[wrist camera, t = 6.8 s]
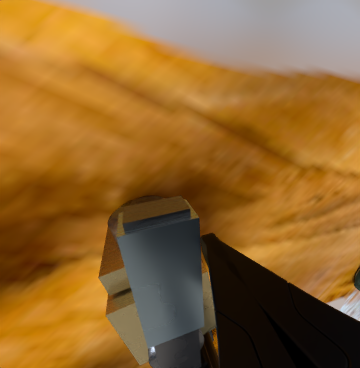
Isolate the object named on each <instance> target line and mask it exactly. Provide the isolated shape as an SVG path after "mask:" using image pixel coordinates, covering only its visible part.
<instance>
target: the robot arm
mask: <svg viewBox="0 0 360 368" xmlns="http://www.w3.org/2000/svg"><path fill="white" fill-rule="evenodd" d="M200 240H201V246H202V252H203V255H204V258H205V260H206V263H207V265H208V267H209V275H210V282H211V290H212V298H213V305H214V314H215V322H216V330H217V340H218V355H219V357H218V355H217V352H216V349H215V347H214V344H213V341H214V339H213V335H212V331H209V332H207V333H205V334H203V337H204V344H203V347H202V348H201V350H200V356H201V367H200V368H360V321H358V320H356V319H354V318H352V317H350V316H348V315H346V314H344V313H342V312H341V311H339V310H337V309H335V308H333V307H331V306H329V305H328V304H326V303H324V302H322V301H320V300H318V299H317V298H315V297H313V296H312V295H310V294H308V293H306V292H305V291H303V290H301V289H300V288H298V287H296V286H295V285H293V284H291V283H288V282H287V281H286V280H285V279H283V278H281V277H280V276H278V275H276V274H275V273H273V272H271V271H270V270H268V269H266V268H265V267H263V266H261V265H260V264H258V263H256V262H255V261H253V260H252V259H250V258H248V257H247V256H245V255H243V254H242V253H240V252H238V251H237V250H235V249H233V248H232V247H230V246H228V245H227V244H225V243H223V242H222V241H220V240H219V239H218V238H217V237H216V236H215V234H214V233H209V234H206V235H203V236H201V237H200Z"/></svg>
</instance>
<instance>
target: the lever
mask: <svg viewBox="0 0 360 368" xmlns="http://www.w3.org/2000/svg"><path fill="white" fill-rule="evenodd" d="M116 238H117V241H118V245H119V248H120V252H121V255H122V259H123V262H124V266H125V269H126V273H127V276H128V280H129V283H130V287H131V290H132V294H133V297H134V301H135V305H136V308H137V312H138V315H139V319H140V322H141V326H142V329H143V333H144V336H145V340H146V343H147V347H148V357H149V363H150V365H151V366H152V367H153V368H200V367H201V356H200V350H201V348H202V347H203V344H204V337H203V334H202V331H201V328H202V327H204V309H203V288H202V266H201V245H200V224H199V217H198V215H197V214H196V212H195V211H194V210H193V208H192V207H191V205H190V204H189V203H188V201H187V200H186V199H183V197H182V196H181V195H180V196H175V197H170V198H165V199H160V200H155V201H150V202H145V203H140V204H136V205H131V206H126V207H123V212H122V213H119V217H118V227H117V237H116Z"/></svg>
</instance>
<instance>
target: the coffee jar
mask: <svg viewBox="0 0 360 368" xmlns="http://www.w3.org/2000/svg"><path fill="white" fill-rule="evenodd" d="M354 286H355V287H356V288H357V289H358V290H359V291H360V269H359V270H358V271H357V273H356V275H355V282H354Z"/></svg>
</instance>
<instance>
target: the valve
mask: <svg viewBox="0 0 360 368" xmlns="http://www.w3.org/2000/svg"><path fill="white" fill-rule="evenodd" d="M160 199H165V198H163V197H160V196H146V197H141V198H138V199H135V200H132V201H130V202H128V203H126V204H124V205H122V206H121V207H120V208H118V209H117V210H116V211H115V212H114V213H113V214H112V215H111V216H110V218H109V220H108V230H107V235H106V240H105V246H104V251H103V256H102V261H101V267H100V272H99V277H98V278H99V279H100V281H101V282H102V284H103V286H104V287H105V289H106V291H107V292H108V300H107V308H106V317H107V318H108V320H109V321H110V322H111V324H112V325H113V327H114V328H115V330H116V331H117V333H118V334H119V336H120V337H121V338H122V340H123V341H124V343H125V344H126V346H127V347H128V349H129V350H130V352H131V353H132V354H133V356H134V357H135V359H136V360H137V362H138V363H139V365H142V364H144V363H146V362H148V361H149V357H148V347H147V343H146V340H145V336H144V333H143V329H142V326H141V322H140V319H139V315H138V312H137V308H136V305H135V301H134V297H133V294H132V290H131V287H130V283H129V280H128V276H127V273H126V269H125V266H124V262H123V259H122V255H121V252H120V248H119V245H118V241H117V238H116V237H117V227H118V217H119V213H122V212H123V207H126V206H131V205H136V204H140V203H145V202H150V201H155V200H160ZM201 266H202V288H203V309H204V327H202V328H201V331H202V334H205V333H207V332H209V331H211V330H213V329H215V328H216V322H215V314H214V305H213V298H212V290H211V286H210V281H209V276H208V272H207V270H206V268H205V266H204V264H203V262H202V260H201Z"/></svg>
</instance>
